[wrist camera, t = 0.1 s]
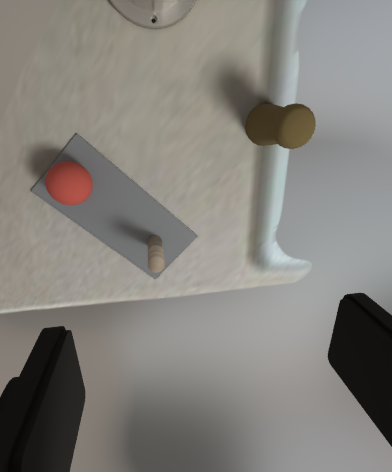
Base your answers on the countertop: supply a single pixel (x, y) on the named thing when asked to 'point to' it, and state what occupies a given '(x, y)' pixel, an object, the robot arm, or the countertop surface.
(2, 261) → the countertop surface
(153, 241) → the pin
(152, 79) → the countertop surface
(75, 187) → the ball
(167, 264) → the plate
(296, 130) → the cork
